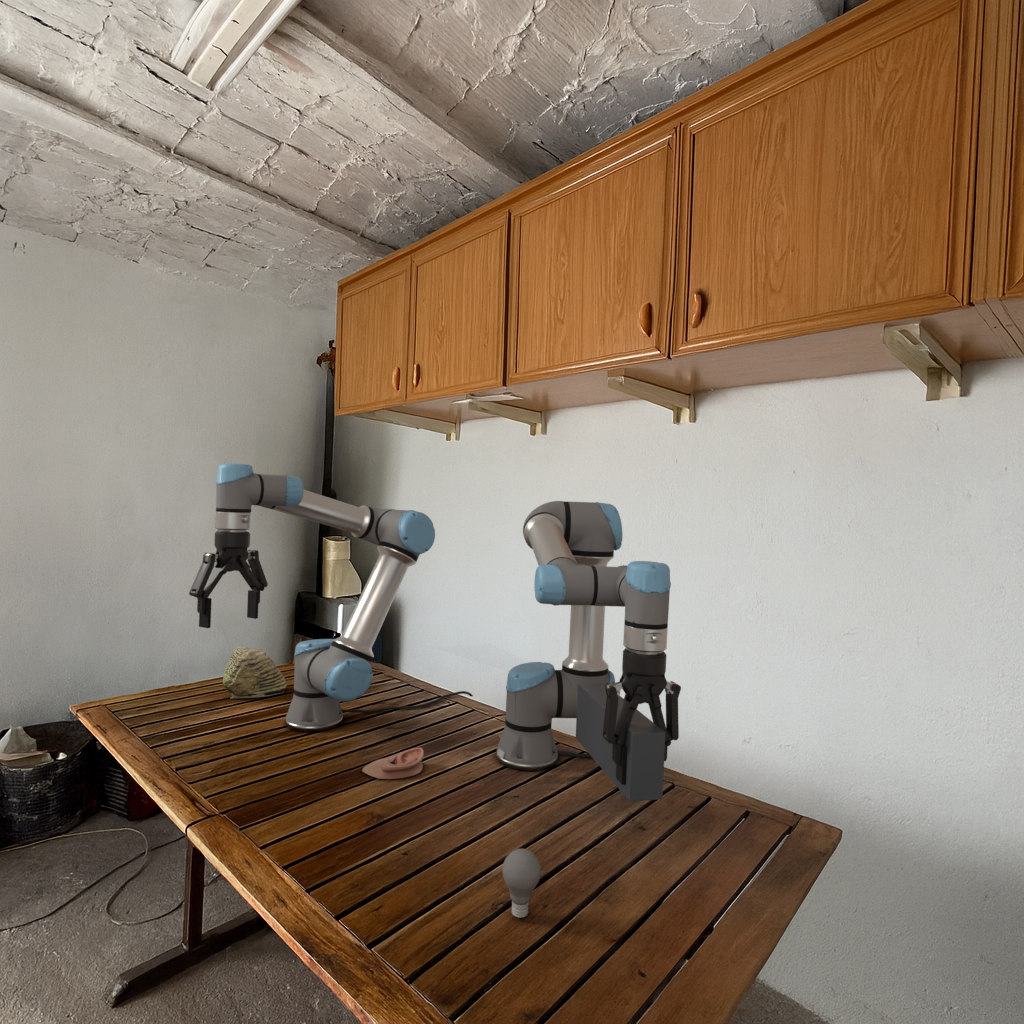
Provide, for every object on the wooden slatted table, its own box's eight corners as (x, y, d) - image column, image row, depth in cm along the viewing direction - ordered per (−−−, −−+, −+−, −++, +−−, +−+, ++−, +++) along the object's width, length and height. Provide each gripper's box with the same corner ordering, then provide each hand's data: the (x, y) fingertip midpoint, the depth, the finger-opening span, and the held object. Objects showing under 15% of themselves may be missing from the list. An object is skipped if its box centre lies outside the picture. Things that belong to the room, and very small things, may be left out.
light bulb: (499, 902, 101) (501, 840, 101) (536, 902, 101) (539, 840, 101) (501, 928, 95) (504, 862, 95) (541, 927, 95) (544, 862, 95)
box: (575, 737, 136) (577, 683, 136) (602, 736, 138) (604, 683, 137) (629, 801, 108) (632, 733, 108) (662, 799, 109) (665, 732, 109)
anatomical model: (356, 758, 144) (377, 740, 155) (356, 775, 144) (376, 756, 155) (412, 766, 141) (429, 746, 152) (411, 783, 141) (428, 763, 153)
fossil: (218, 695, 195) (220, 647, 195) (278, 685, 208) (279, 640, 207) (228, 703, 189) (230, 653, 188) (289, 692, 201) (290, 645, 201)
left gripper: (198, 533, 133) (194, 633, 133) (284, 530, 156) (281, 616, 156) (173, 531, 136) (169, 629, 136) (261, 528, 159) (258, 612, 159)
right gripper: (601, 655, 106) (595, 792, 106) (704, 654, 110) (698, 786, 110) (586, 645, 113) (580, 773, 113) (683, 644, 117) (677, 768, 118)
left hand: (229, 622), depth 146 cm, fingers open, 13 cm apart
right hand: (638, 779), depth 112 cm, fingers closed on box, 6 cm apart
